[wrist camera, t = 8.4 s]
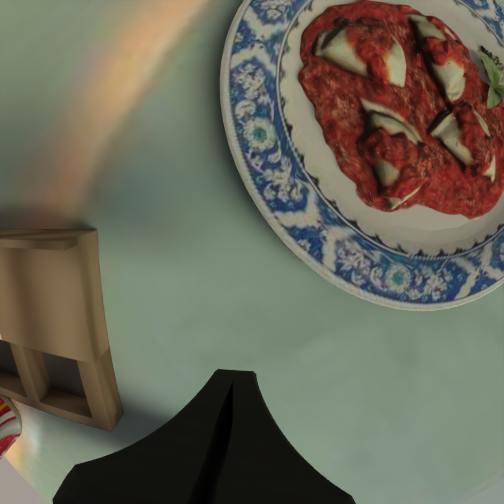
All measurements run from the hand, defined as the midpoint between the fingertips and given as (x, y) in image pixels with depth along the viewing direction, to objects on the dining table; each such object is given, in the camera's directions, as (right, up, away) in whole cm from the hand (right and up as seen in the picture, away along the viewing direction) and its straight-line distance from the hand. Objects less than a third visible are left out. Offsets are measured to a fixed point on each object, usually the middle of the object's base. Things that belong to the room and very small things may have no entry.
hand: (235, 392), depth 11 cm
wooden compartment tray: (-17, -1, +10) cm, 20 cm away
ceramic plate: (+12, +14, +7) cm, 20 cm away
